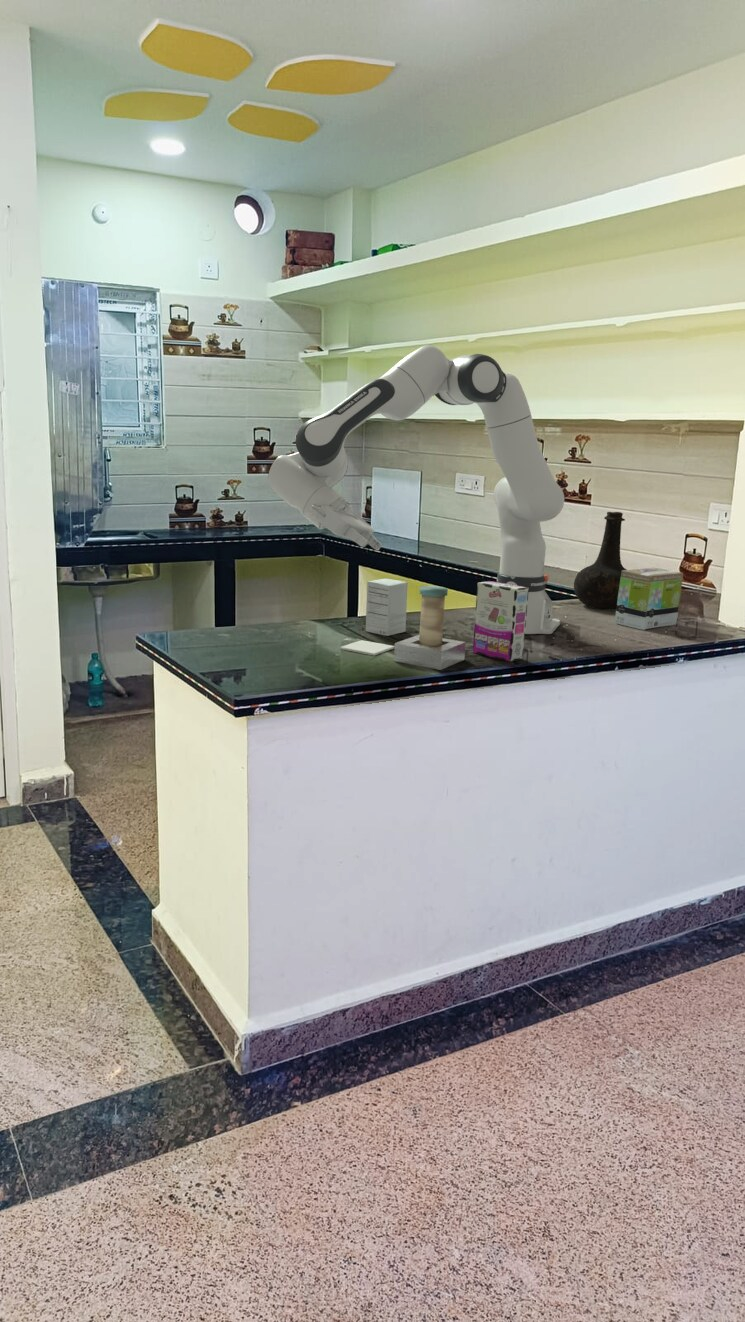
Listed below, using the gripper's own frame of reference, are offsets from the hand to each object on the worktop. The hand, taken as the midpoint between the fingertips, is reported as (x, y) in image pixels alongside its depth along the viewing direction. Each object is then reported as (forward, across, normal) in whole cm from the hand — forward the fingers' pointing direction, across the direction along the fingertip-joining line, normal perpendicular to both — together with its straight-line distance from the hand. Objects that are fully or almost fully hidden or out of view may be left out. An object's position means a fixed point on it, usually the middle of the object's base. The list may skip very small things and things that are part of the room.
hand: (372, 545), depth 203 cm
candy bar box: (+35, +14, +4) cm, 38 cm away
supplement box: (+8, +24, +18) cm, 31 cm away
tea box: (+54, +68, -20) cm, 89 cm away
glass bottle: (+41, +87, -16) cm, 97 cm away
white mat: (+11, +6, +20) cm, 24 cm away
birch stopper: (+25, +2, +12) cm, 28 cm away
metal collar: (+25, +2, +12) cm, 28 cm away
